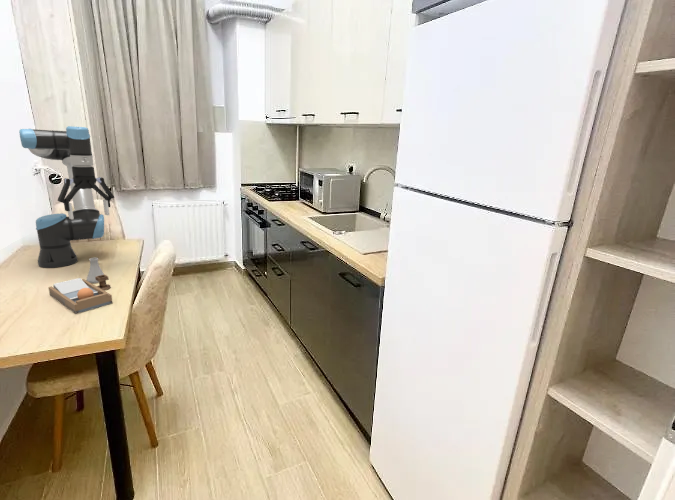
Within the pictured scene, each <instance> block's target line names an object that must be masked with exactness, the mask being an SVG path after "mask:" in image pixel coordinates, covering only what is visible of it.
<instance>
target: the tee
mask: <svg viewBox="0 0 675 500" xmlns="http://www.w3.org/2000/svg"><path fill="white" fill-rule="evenodd" d="M95 278H96V280H97V281H99V282H98V284H99V285H96V286H97V287H99V288H100V289H102V290H104V291H107V290H109V289H111V284H109V283H108V284H107V281H108V280H109V276H108V275H107V274H104V275H100V276H96V277H95Z"/></svg>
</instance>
